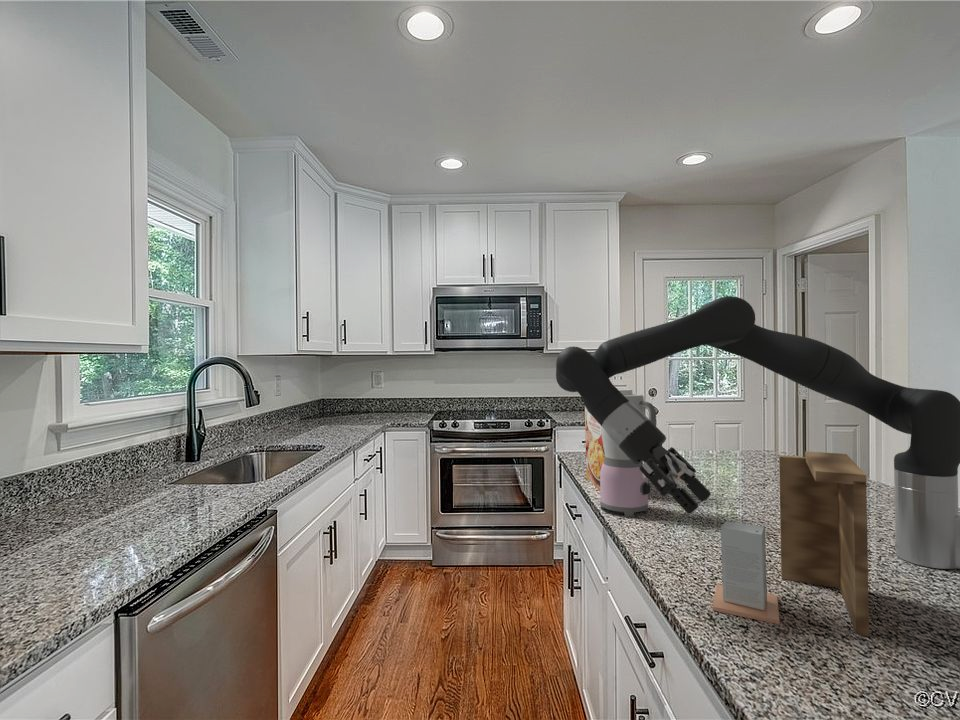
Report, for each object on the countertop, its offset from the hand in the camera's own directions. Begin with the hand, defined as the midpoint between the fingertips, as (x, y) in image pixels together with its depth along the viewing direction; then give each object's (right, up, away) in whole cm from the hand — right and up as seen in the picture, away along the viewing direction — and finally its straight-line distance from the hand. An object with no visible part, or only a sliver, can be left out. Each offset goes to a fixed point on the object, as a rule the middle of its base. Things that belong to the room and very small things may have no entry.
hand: (701, 504), depth 84 cm
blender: (+2, -16, +46) cm, 49 cm away
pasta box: (+3, -16, +72) cm, 74 cm away
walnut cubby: (+17, -15, -4) cm, 23 cm away
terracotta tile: (+5, -15, -4) cm, 17 cm away
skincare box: (+5, -15, -4) cm, 16 cm away
